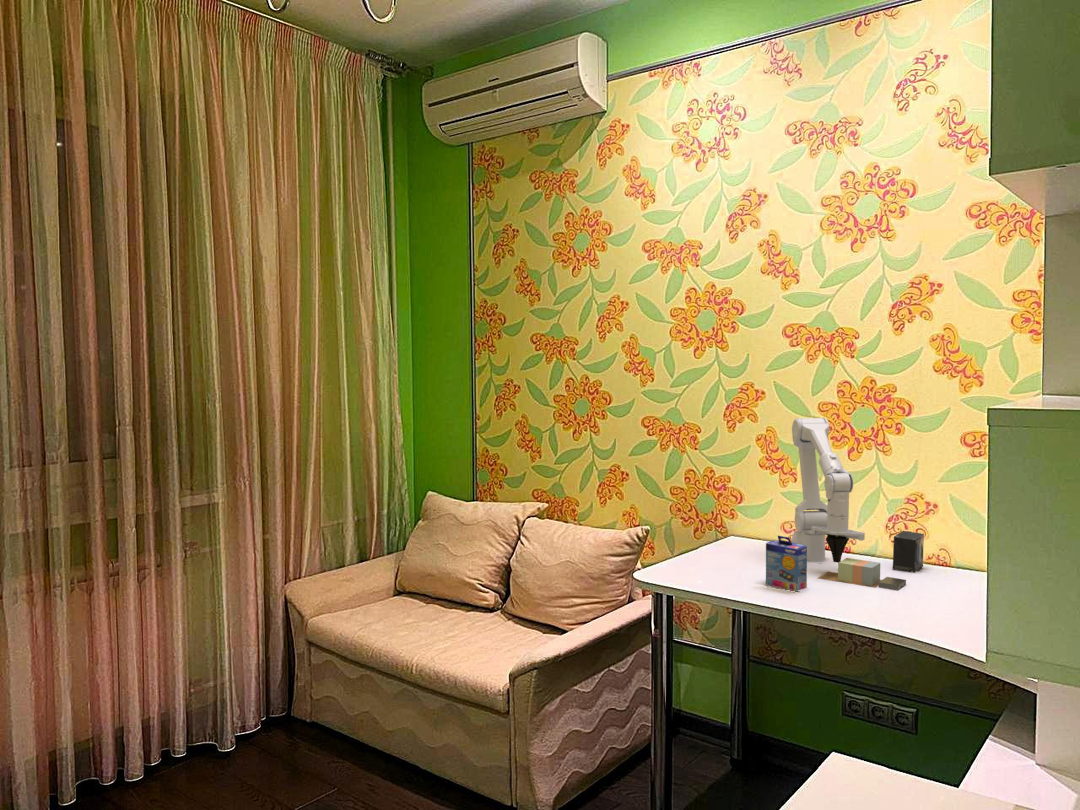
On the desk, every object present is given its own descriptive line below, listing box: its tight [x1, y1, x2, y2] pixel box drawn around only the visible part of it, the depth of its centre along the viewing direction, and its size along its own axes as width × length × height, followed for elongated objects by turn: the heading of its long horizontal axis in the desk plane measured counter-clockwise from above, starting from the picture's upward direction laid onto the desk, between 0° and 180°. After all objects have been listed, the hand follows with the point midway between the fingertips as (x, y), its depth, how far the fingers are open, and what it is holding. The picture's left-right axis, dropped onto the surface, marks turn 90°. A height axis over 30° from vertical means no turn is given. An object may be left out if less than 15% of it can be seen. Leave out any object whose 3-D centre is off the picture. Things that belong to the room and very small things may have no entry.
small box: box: [891, 530, 925, 574], centre depth 244 cm, size 11×6×10 cm, turn 143°
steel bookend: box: [878, 576, 907, 591], centre depth 225 cm, size 2×7×5 cm
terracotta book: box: [852, 559, 871, 584], centre depth 230 cm, size 3×7×5 cm, turn 140°
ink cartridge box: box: [765, 535, 808, 593], centre depth 226 cm, size 10×6×14 cm, turn 45°
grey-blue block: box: [862, 561, 881, 586], centre depth 229 cm, size 3×7×5 cm, turn 141°
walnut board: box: [817, 571, 882, 589], centre depth 232 cm, size 16×9×1 cm, turn 51°
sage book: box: [837, 557, 861, 583], centre depth 232 cm, size 4×7×5 cm, turn 140°
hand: (837, 561), depth 237 cm, fingers closed
